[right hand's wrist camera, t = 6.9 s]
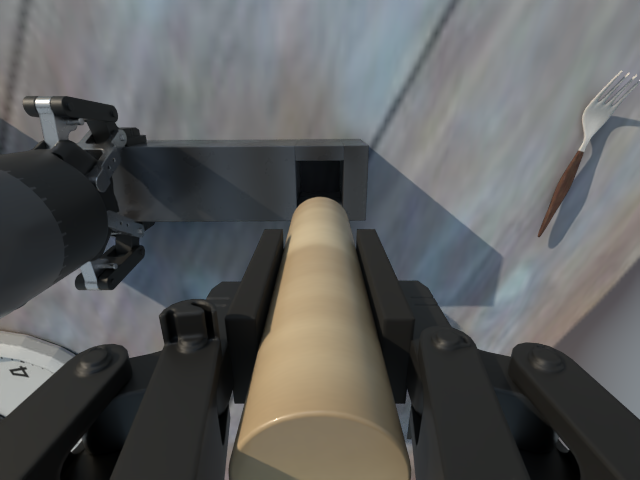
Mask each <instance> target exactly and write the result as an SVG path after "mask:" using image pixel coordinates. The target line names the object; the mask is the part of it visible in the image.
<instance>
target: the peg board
mask: <svg viewBox="0 0 640 480" xmlns="http://www.w3.org/2000/svg"><path fill="white" fill-rule="evenodd" d="M368 152H369V146H368V145H367V144H366V143H365V142H363V141H362V140H361V139H341V140H340V139H319V140H169V141H147V143H142V144H137V145H132V146H124V148H123V149H122V151H121V152H120V156H121V158H122V160H121V162H120V164H119V165H118V167H117V168H116V170H115V172H114V173H113V175H112V179H113V187H114V195H115V197H116V200H117V202H118V207H119V212H117V213H118V214H119V215H122V216H125V217H128V218H131V219H133V220H134V222H179V221H291V220H292V216H293V214H294V212H295V210H296V209H297V207H298V206H299V205H300V204H301V203H303V202H304V201H306V200H308V199H311V198H315V197H325V198H329V199H332V200H334V201H336V202H337V203H339V204H340V205H341V206H342V207H343V208H344V210H345V211H346V214H347V216H348V220H349V221H350V220H366V198H367V175H368ZM300 161H340V189H339V192H301V190H300Z"/></svg>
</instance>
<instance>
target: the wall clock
mask: <svg viewBox="0 0 640 480" xmlns="http://www.w3.org/2000/svg"><path fill="white" fill-rule="evenodd" d="M74 356H76V355H75V354H73V353H71V352H70V351H68V350H66V349H64V348H63V347H61V346H58V345H55V344H52V343H49V342H46V341H44V340H41V339H38V338H35V337H32V336H29V335H25V334H18V333H11V332H5V331H0V422H1V421H2V420H3V419H4V418H5V417H6V416H7V415H9V414H10V413H11V412H12V411H13V410H14V409H15V408H16V407H17V406H19V405H20V404H21V403H22V402H23V401H24V400H25V399H26V398H27V397H29V396H30V395H31V394H32V393H33V392H34V391H35V390H36V389H37V388H39V387H40V386H41V385H42V384H43V383H44V382H45V381H46V380H47V379H49V378H50V377H51V376H52V375H53V374H54V373H55V372H56V371H57V370H59V369H60V368H61V367H62V366H63V365H64V364H65V363H66V362H67V361H69V360H70V359H72V358H73V357H74ZM81 441H82V439H80V440H79V442H78V443H77V444H76V445H75V447H74V448H73V449H72V450H71V452H72V451H73V450H74V449H75V448H76V447H77V446H78V445H79V443H80V442H81Z"/></svg>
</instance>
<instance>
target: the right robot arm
mask: <svg viewBox="0 0 640 480" xmlns="http://www.w3.org/2000/svg"><path fill="white" fill-rule="evenodd" d="M283 251H284V248H283V229H265V230H264V232H263V234H262V237H261V239H260V241H259V243H258V246H257V248H256V250H255V252H254V254H253V257H252V259H251V261H250V263H249V265H248V268H247V270H246V272H245V274H244V277H243V279H242V281H241V282H221V283H220V284H218V285H217V286H216V287H214V288H213V289H212V290H211V291H210V293H209V295H208V296H207V300H204V299H191V300H185V301H181V302H178V303H175V304H173V305H171V306H169V307H168V308H166V309H164V310H163V312H162V313H161V314H160V315H159V319H160V324H161V329H162V334H163V339H164V344H165V345H164V347H163V350H162V351H159V352H155V353H152V354H147V355H142V356H138V357H133V358H129V355H128V351H127V350H126V349H125V348H124V347H123V346H121V345H116V344H107V345H100V346H95V347H92V348H89V349H87V350H85V351H83V352H81V353H79V354H77V355H76V356H74V357H73V358H72V359H70V360H69V361H67V362H66V363H65V364H64V365H63V366H62V367H61V368H60V369H59V370H57V371H56V372H55V373H54V374H53V375H52V376H51V377H50V378H49V379H47V380H46V381H45V382H44V383H43V384H42V385H41V386H40V387H39V388H37V389H36V390H35V391H34V392H33V393H32V394H31V395H30V396H29V397H27V398H26V399H25V400H24V401H23V402H22V403H21V404H20V405H19V406H17V407H16V408H15V409H14V410H13V411H12V412H11V413H10V414H9V415H7V416H6V417H5V418H4V419H3V420H2V421H1V422H0V480H224V477H225V466H226V456H227V446H228V436H229V426H230V411H229V400H230V397H231V394H232V390H233V394H234V403H235V404H245V400H246V396H247V392H248V388H249V384H250V380H251V376H252V372H253V368H254V364H255V361H256V357H257V353H258V349H259V345H260V341H261V337H262V333H263V329H264V325H265V321H266V318H267V314H268V310H269V306H270V302H271V298H272V294H273V290H274V286H275V282H276V278H277V275H278V271H279V267H280V263H281V259H282V255H283ZM356 251H357V255H358V259H359V263H360V267H361V271H362V275H363V279H364V282H365V286H366V290H367V294H368V298H369V302H370V306H371V310H372V314H373V318H374V322H375V326H376V330H377V334H378V338H379V341H380V345H381V349H382V353H383V357H384V361H385V365H386V369H387V373H388V377H389V381H390V385H391V389H392V393H393V397H394V400H395V404H405V401H406V393H407V389H408V393H409V396H410V399H411V402H412V403H411V411H410V419H409V427H408V435H407V439H411V438H412V446H413V456H414V466H415V476H416V480H640V420H639V419H638V418H637V417H636V416H635V415H634V414H633V413H632V412H630V411H629V410H628V409H627V408H626V407H625V406H624V405H623V404H622V403H620V402H619V401H618V400H617V399H616V398H615V397H614V396H613V395H611V394H610V393H609V392H608V391H607V390H606V389H605V388H604V387H603V386H601V385H600V384H599V383H598V382H597V381H596V380H595V379H594V378H592V377H591V376H590V375H589V374H588V373H587V372H586V371H585V370H583V369H582V368H581V367H580V366H579V365H578V364H577V363H576V362H575V361H573V360H572V359H571V358H569V357H568V356H567V355H565V354H564V353H562V352H560V351H558V350H556V349H554V348H552V347H550V346H547V345H543V344H538V343H522V344H518V345H516V346H515V347H514V348H513V350H512V354H511V357H509V356H504V355H500V354H495V353H490V352H486V351H482V350H479V349H477V347H476V344H475V343H474V342H473V340H472V339H471V337H469V336H468V335H466V334H465V333H464V332H462V331H459V330H457V329H455V328H452V327H451V325H450V324H449V322H448V320H447V319H446V317H445V315H444V314H443V312H442V310H441V309H440V307H439V306H438V305H437V302H436V300H435V299H434V298H433V295H432V294H431V292H430V290H429V289H428V288H427V287H426V286H424V285H423V284H422V283H420V282H419V281H398V279H397V277H396V275H395V273H394V270H393V268H392V266H391V264H390V262H389V259H388V257H387V255H386V253H385V250H384V248H383V246H382V244H381V242H380V239H379V237H378V235H377V233H376V231H375V229H357V243H356ZM559 437H560V438H561V440H562V441H563V442H564V443H565V444H566V446H567V447H568V448H569V449H570V450H567V448H566V447H564V446H563V444H562V443H561V442H560V441H559V439H558V438H559ZM80 439H82V441H81V442H80V443H79V445H78V446H77V447H76V448H75V449H74V450H73V451H72V452H71V450H72V449H73V448H74V447H75V445H76V444H77V443H78V442H79V440H80Z"/></svg>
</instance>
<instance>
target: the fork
mask: <svg viewBox="0 0 640 480" xmlns="http://www.w3.org/2000/svg"><path fill="white" fill-rule="evenodd" d="M622 72H623V71H620V72H619V73H618V74H617V75H616V76H615V77H614V78H613V79H612V80H611V81H610V82H609V83H608V84H607V85H606V86H605V87H604V88H603V89H602V90H601V91H600V92H599V94H598V95H597V96H596V97H595V98H594V99H593V100H592V101H591V102H590V104H589V105H588V106H587V107H586V109H585V111H584V113H583V116H582V125H583V131H584V140H583V143H582V145H581V147H580V148H579V150H578V152H577V153H576V155H575V156H574V158H573V160H572V161H571V163H570V164H569V166H568V167H567V169H566V171H565V172H564V174H563V176H562V177H561V179H560V181H559V183H558V185H557V187H556V189H555V192H554V195H553V197H552V200H551V203H550V205H549V208H548V211H547V213H546V215H545V218H544V220H543V223H542V225H541V228H540V230H539V233H538V237H540V236H541V235H542V233H543V232H544V230H545V229H546V227H547V225H548V224H549V222H550V220H551V219H552V217H553V215H554V214H555V212H556V210H557V209H558V207H559V206H560V204H561V202H562V201H563V199H564V197H565V196H566V194H567V192H568V191H569V189H570V187H571V185H572V182H573V180H574V177H575V175H576V172H577V169H578V167H579V164H580V161H581V159H582V156H583V153H584V151H585V148H586V146H587V144H588V142H589V140H590V139H591V138H592V136H593V135H594V134H595V133H596V132H597V131H598V130H599V129H600V128H601V127H602V126H603V125H604V124H605V123H606V121H607V120H608V119H609V118H610V116H611V115H612V114H613V112H614V111H615V110H616V108H617V107H618V106H619V105H620V103H621V102H622V101H623V100H624V99H625V98H626V97H627V96H628V95H629V93H630V92H631V91H632V90H633V89H634V88H635V87H636V86H637V85H638V84H639V83H640V80H639V81H638V82H637V83H636V84H635V85H634V86H633V87H632V88H631V89H630V90H629V91H628V92H626V93H625V94H624V95H623V96H622V97H621V98H620V99H619V100H618V101H617V102H616V103H615V104H614V105H612V103H613V102H614V100H615V99H616V98H617V97H618V96H619V95H620V94H621V92H622V91H623V90H624V89H625V88H626V87H627V86H628V85H629V84H630V83H631V82H632V81H633V80H634V79H635V78H636V77H637V75H635V76H634V77H633V78H632V79H631V80H630V81H629V82H628V83H627V84H626V85H625V86H624V87H623V88H621V89H620V90H619V91H618V92H617V93H616V94H615V95H614V96H613V97H612V98H611V99H610V100H609V101H608V102H607V103H605V101H606V100H607V99H608V97H609V96H610V95H611V94H612V93H613V92H614V90H615V89H616V88H617V87H618V86H619V85H620V84H621V83H622V81H623V80H624V79H625V78H626V77H627V76H628V75H629V74H630V73H628V74H627V75H626V76H625V77H623V78H622V79H621V80H620V81H619V82H618V83H617V84H616V85H615V86H614V87H613V88H612V89H611V90H610V91H609V92H608V93H607V94H606V96H605V97H604V98H603V99H601V100H600V101H599V102H598V99H599V98H600V97H601V95H602V94H603V93H604V92H605V91H606V89H607V88H608V87H609V86H610V85H611V84H612V82H613V81H614V80H615V79H616V78H617V77H618V76H619V75H620V74H621V73H622Z"/></svg>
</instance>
